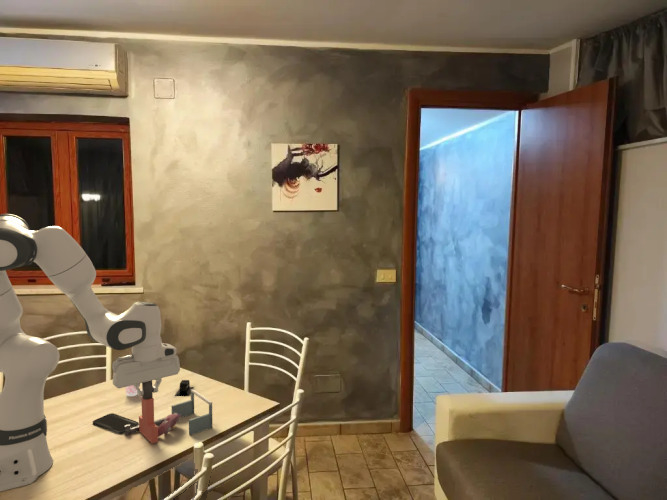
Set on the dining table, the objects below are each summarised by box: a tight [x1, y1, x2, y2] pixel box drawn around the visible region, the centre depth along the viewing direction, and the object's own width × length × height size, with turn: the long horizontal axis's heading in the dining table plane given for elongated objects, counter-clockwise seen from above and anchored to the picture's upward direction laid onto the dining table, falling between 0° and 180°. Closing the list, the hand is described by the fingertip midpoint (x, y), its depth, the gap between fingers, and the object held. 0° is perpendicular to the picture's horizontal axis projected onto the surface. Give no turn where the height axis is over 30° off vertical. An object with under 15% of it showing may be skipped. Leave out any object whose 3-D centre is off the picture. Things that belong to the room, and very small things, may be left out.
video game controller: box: [158, 413, 182, 438], centre depth 152 cm, size 10×5×7 cm, turn 169°
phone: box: [92, 412, 139, 435], centre depth 157 cm, size 8×1×15 cm
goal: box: [171, 388, 213, 436], centre depth 158 cm, size 8×15×9 cm, turn 42°
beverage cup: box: [124, 385, 138, 397], centre depth 181 cm, size 6×6×14 cm
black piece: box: [174, 379, 195, 397], centre depth 185 cm, size 12×7×5 cm, turn 3°
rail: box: [123, 416, 167, 436], centre depth 154 cm, size 14×1×3 cm, turn 132°
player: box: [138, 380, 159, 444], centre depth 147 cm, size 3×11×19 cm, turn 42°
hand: (147, 393), depth 147 cm, fingers open, 3 cm apart
